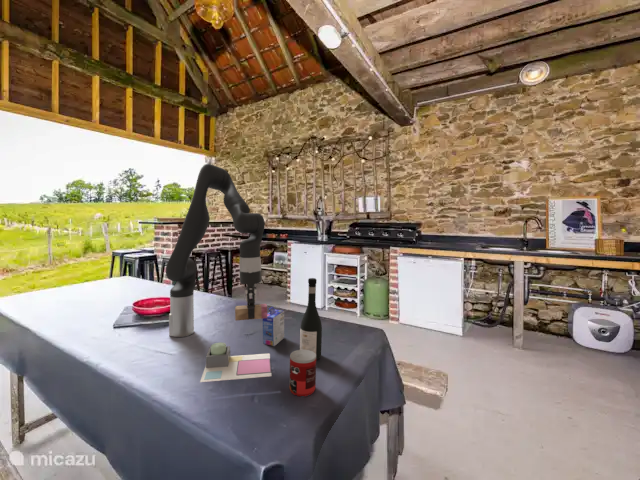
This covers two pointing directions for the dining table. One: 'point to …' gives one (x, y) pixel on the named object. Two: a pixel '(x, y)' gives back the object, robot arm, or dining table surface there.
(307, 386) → the canned food
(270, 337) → the ink cartridge box
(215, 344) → the button
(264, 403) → the dining table surface
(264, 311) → the wooden block
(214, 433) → the dining table surface
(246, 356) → the colouring board
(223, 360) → the button housing
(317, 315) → the wine bottle
